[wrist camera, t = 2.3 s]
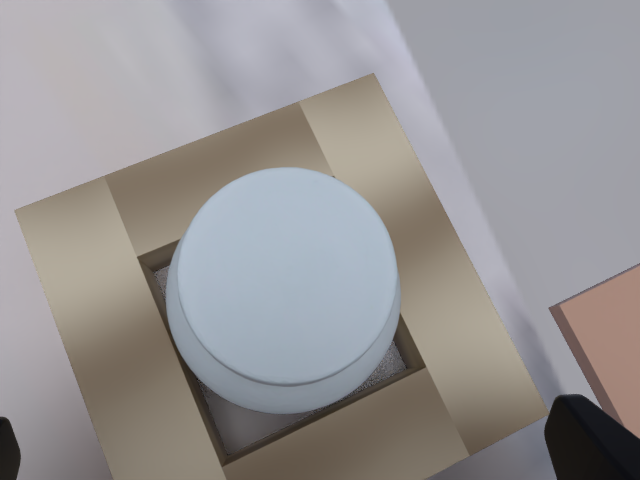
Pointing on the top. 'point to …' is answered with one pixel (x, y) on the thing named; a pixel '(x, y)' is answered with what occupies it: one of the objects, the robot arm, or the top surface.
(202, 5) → the top surface
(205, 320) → the supplement bottle
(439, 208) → the socket block
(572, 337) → the terracotta tile
